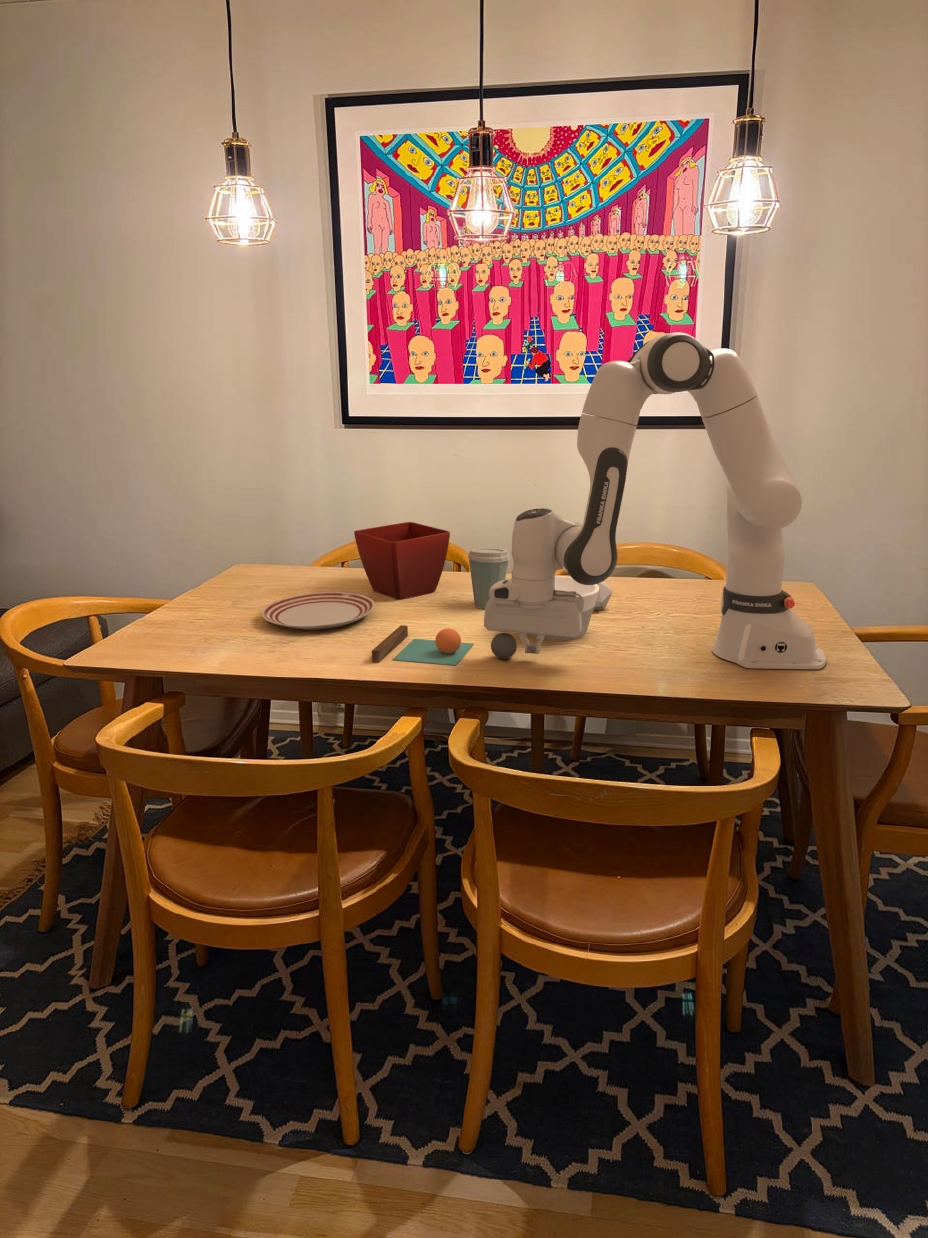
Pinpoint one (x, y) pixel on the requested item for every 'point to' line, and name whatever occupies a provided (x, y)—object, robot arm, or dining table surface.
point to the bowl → (585, 591)
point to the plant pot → (403, 558)
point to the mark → (431, 653)
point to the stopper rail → (389, 643)
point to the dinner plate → (318, 610)
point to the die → (602, 596)
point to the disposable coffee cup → (486, 571)
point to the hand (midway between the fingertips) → (532, 652)
